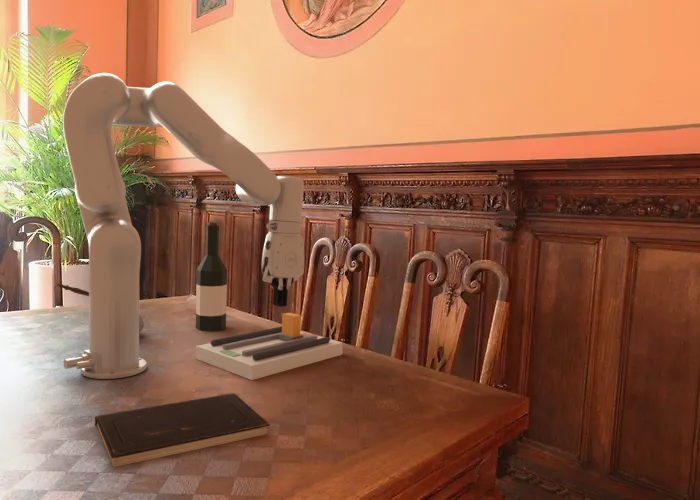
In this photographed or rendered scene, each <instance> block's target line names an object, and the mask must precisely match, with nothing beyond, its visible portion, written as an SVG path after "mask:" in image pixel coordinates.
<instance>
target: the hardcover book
mask: <svg viewBox="0 0 700 500" xmlns="http://www.w3.org/2000/svg"><path fill="white" fill-rule="evenodd" d="M270 425H271V424H270V423H269V422H267V420H265V419H264V418H263V417H262V416H261V415H260V414H259V413H258V412H257V411H256V410H254V409H253V408H252V407H251V406H249V405H248V404H247V403H246V402H245V401H244V400H243V399H241V398H240V397H239V396H238V395H237V394H236V393H232V392H231V393H227V394H221V395H215V396H208V397H203V398H197V399H190V400H185V401H184V400H183V401H178V402H172V403H166V404H161V405H160V404H159V405H155V406H153V405H152V406H149V407H142V408H135V409H130V410H123V411H117V412H111V413H106V414H98V415H95V417H94V426H97V429H98V431H99V434H100V436H101V439H102V441H103V444H104V447H105V449H106V452H107V455H108V456H109V460H110V462H111V465H112V467H120V466H121V467H122V466H125V465H129V464H133V463H138V462H144V461H148V460H153V459H157V458H162V457H168V456H171V455H176V454H181V453H186V452H189V451H195V450H200V449H204V448H209V447H213V446H219V445H224V444H228V443H233V442H236V441H241V440H246V439H250V438H256V437H259V436H266V435H267V434H268V431H269V430H268V427H270Z"/></svg>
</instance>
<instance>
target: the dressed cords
mask: <svg viewBox="0 0 700 500" xmlns="http://www.w3.org/2000/svg"><path fill="white" fill-rule="evenodd" d="M279 332H282V325H281V326H277V327H272V328H267V329H262V330H255V331H252V332H247V333H242V334H237V335H232V336H230V335H229V336H225V337H221V338H216V339H212V340H211V341H210V343H211V345H212V346H216V345H221V344H226V343H231V342H236V341H240V340H245V339H250V338H255V337H260V336H265V335H270V334H274V333H279ZM329 341H330V336H324V338H320V339H316V340H311V341H307V342H303V343H299V344H294V345H290V346H286V347H282V348H278V349H273V350H269V351H265V352H261V353H256V354H254V355H253V357H252V358H253V360H260V359H264V358H268V357H272V356H276V355H280V354H284V353H288V352H292V351H296V350H300V349H304V348H308V347H312V346H316V345H320V344H324V343H328V342H329Z"/></svg>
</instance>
